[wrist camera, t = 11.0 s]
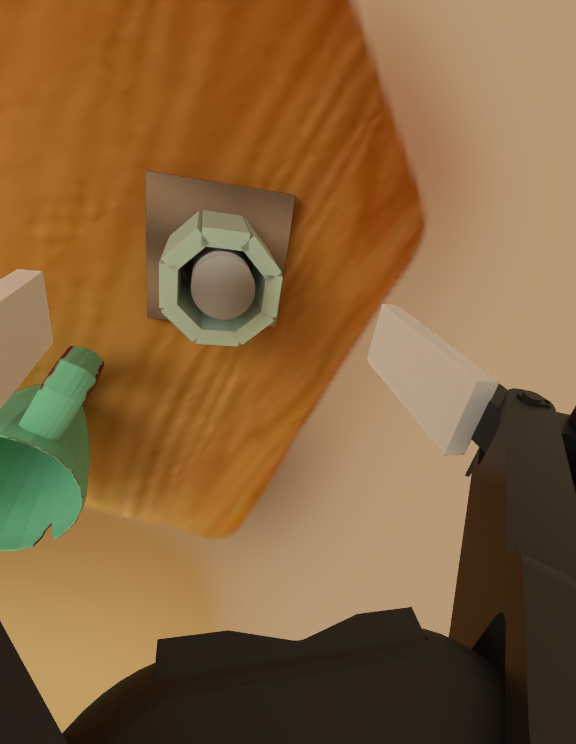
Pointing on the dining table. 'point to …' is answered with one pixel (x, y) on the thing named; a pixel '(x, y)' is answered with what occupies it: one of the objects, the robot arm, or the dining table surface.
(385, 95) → the dining table surface
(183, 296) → the pale green hollow tube
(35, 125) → the dining table surface
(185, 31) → the dining table surface
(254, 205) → the shaft block
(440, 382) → the robot arm
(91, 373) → the mug
